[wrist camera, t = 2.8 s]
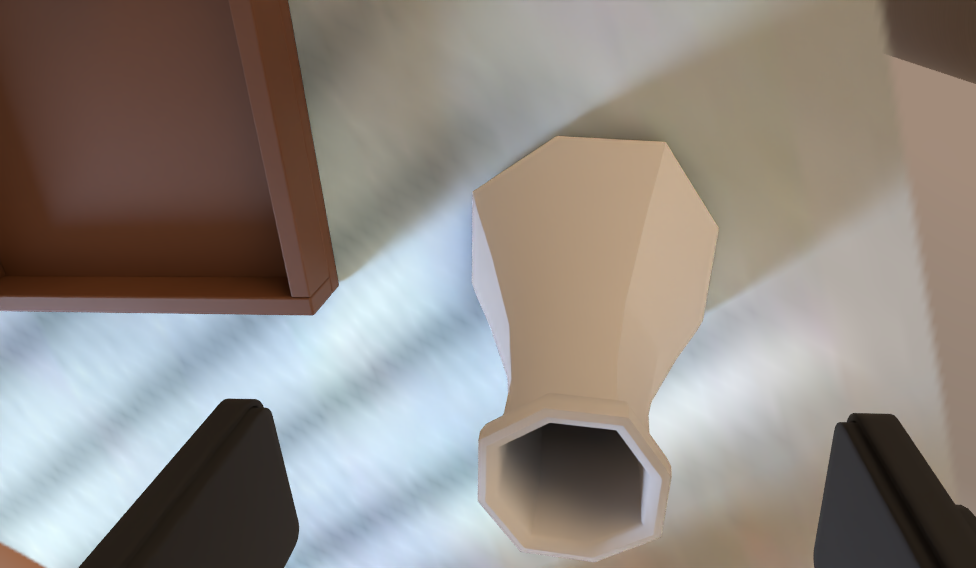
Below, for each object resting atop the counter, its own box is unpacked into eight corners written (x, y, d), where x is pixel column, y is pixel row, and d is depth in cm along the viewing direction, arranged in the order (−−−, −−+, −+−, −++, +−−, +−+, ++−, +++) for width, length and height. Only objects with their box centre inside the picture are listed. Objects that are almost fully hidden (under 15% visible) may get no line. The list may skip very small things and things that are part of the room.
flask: (507, 377, 22) (435, 657, 13) (435, 166, 19) (284, 339, 11) (738, 336, 20) (839, 633, 11) (693, 96, 17) (777, 234, 9)
